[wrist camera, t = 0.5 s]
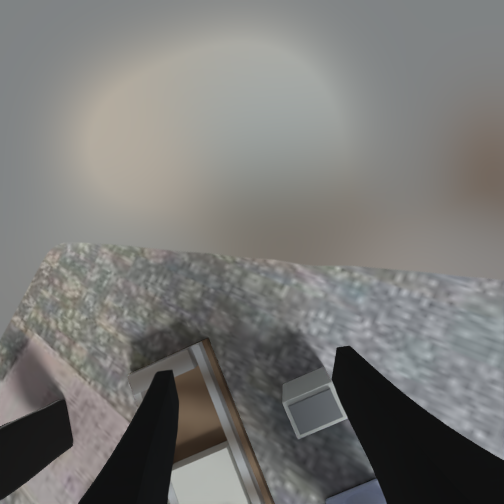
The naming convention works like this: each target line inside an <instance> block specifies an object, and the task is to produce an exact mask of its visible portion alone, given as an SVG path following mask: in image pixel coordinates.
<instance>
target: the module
mask: <svg viewBox="0 0 504 504" xmlns="http://www.w3.org/2000/svg"><path fill="white" fill-rule="evenodd" d="M282 404H283V406H284V408H285V411H286V413H287V415H288V418H289V420H290V422H291V425H292V427H293V429H294V431H295V434H296V436H297V438H298V439H300V438H303V437H305V436H307V435H310V434H312V433H315V432H317V431H319V430H322V429H324V428H326V427H329V426H331V425H334V424H336V423H338V422H341V421H343V420H345V419H348V417H347V415H346V413H345V411H344V409H343V407H342V405H341V403H340V400H339V398H338V395H337V393H336V390H335V387H334V385H333V383H332V381H331V379H330V377H329V375H328V373H327V371H326V369H325V367H324V366H323V367H321V368H319V369H317V370H314V371H312V372H310V373H307V374H305V375H303V376H301V377H298V378H296V379H294V380H291V381H289V382H287V383H284V384H283V392H282Z"/></svg>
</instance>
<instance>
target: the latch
mask: <svg viewBox="0 0 504 504" xmlns="http://www.w3.org/2000/svg"><path fill="white" fill-rule="evenodd" d="M171 482H172V485H173V488H174V491H175V494H176V497H177V500H178V503H179V504H252V502H251V499H250V497H249V494H248V492H247V489H246V487H245V484H244V481H243V479H242V476H241V474H240V471H239V468H238V466H237V463H236V461H235V458H234V456H233V453H232V450H231V448H230V445H229V443H228V440H227V441H225V442H223V443H220V444H218V445H216V446H213V447H211V448H209V449H206V450H204V451H202V452H199V453H197V454H195V455H192V456H190V457H188V458H185V459H183V460H181V461H178V462H176V463H174V464H173V467H172V473H171Z"/></svg>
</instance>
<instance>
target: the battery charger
mask: <svg viewBox="0 0 504 504" xmlns="http://www.w3.org/2000/svg"><path fill="white" fill-rule="evenodd" d="M72 446H73V442H72V435H71V429H70V424H69V418H68V414H67V409H66V405H65V401H64V400H57V401H55V402H53V403H51V404H49V405H47V406H45V407H44V408H42V409H39V410H37V411H35V412H32V413H30V414H28V415H25V416H23V417H21V418H18V419H16V420H14V421H12V422H9V423H6V424H4V425H2V426H0V500H2V499H3V498H5V497H7V496H8V495H9V494H11V493H12V492H14V491H15V490H17V489H18V488H19V487H21V486H22V485H23V484H25V483H26V482H27V481H29V480H30V479H31V478H33V477H34V476H35V475H36V474H37V473H39V472H40V471H41V470H42V469H44V468H45V467H46V466H47V465H48V464H50V463H51V462H52V461H53V460H55V459H56V458H57V457H59V456H60V455H61V454H63V453H64V452H65V451H67V450H68V449H70V448H71V447H72Z"/></svg>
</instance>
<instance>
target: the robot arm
mask: <svg viewBox="0 0 504 504" xmlns="http://www.w3.org/2000/svg"><path fill="white" fill-rule="evenodd" d="M332 381H333V384H334V387H335V390H336V393H337V395H338V398H339V400H340V403H341V405H342V407H343V409H344V411H345V413H346V415H347V417H348V419H349V421H350V423H351V425H352V427H353V429H354V431H355V433H356V435H357V437H358V439H359V441H360V443H361V445H362V447H363V449H364V451H365V453H366V455H367V457H368V459H369V461H370V464H371V466H372V468H373V470H374V473H375V475H376V479H374V480H371V481H369V482H367V483H364V484H362V485H359V486H357V487H354V488H352V489H349V490H347V491H344V492H342V493H340V494H337V495H335V496H332V497H330V498H327V499H326V501H325V503H326V504H504V460H502V459H500V458H499V457H497V456H495V455H493V454H492V453H490V452H488V451H487V450H485V449H483V448H482V447H480V446H478V445H477V444H475V443H474V442H472V441H470V440H469V439H467V438H466V437H464V436H462V435H461V434H459V433H458V432H456V431H455V430H453V429H452V428H450V427H449V426H447V425H446V424H444V423H443V422H441V421H440V420H439V419H437V418H436V417H434V416H433V415H431V414H430V413H429V412H427V411H426V410H425V409H423V408H422V407H421V406H419V405H418V404H417V403H415V402H414V401H413V400H412V399H410V398H409V397H408V396H406V395H405V394H404V393H403V392H402V391H400V390H399V389H398V388H397V387H396V386H394V385H393V384H392V383H391V382H390V381H388V380H387V379H386V378H385V377H384V376H383V375H382V374H380V373H379V372H378V371H377V370H376V369H375V368H374V367H373V366H371V365H370V364H369V363H368V362H367V361H366V360H365V359H364V358H363V357H362V356H360V355H359V354H358V353H357V352H356V351H355V350H354V349H353V348H352V347H350V346H344V347H337V350H336V356H335V362H334V368H333V374H332ZM178 419H179V398H178V393H177V389H176V384H175V379H174V374H173V369H172V370H165V371H157V372H156V373H155V375H154V377H153V380H152V382H151V384H150V386H149V388H148V391H147V393H146V395H145V397H144V399H143V401H142V403H141V404H140V406H139V408H138V410H137V412H136V414H135V416H134V417H133V419H132V421H131V423H130V425H129V426H128V428H127V430H126V432H125V433H124V435H123V437H122V438H121V440H120V442H119V443H118V445H117V447H116V448H115V450H114V452H113V453H112V455H111V456H110V458H109V459H108V461H107V462H106V464H105V466H104V467H103V469H102V470H101V472H100V473H99V474H98V476H97V477H96V479H95V480H94V482H93V483H92V485H91V486H90V488H89V489H88V490H87V492H86V493H85V494H84V496H83V497H82V499H81V500H80V501H79V503H78V504H167V502H168V493H169V487H170V480H171V473H172V467H173V460H174V453H175V446H176V439H177V432H178Z"/></svg>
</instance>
